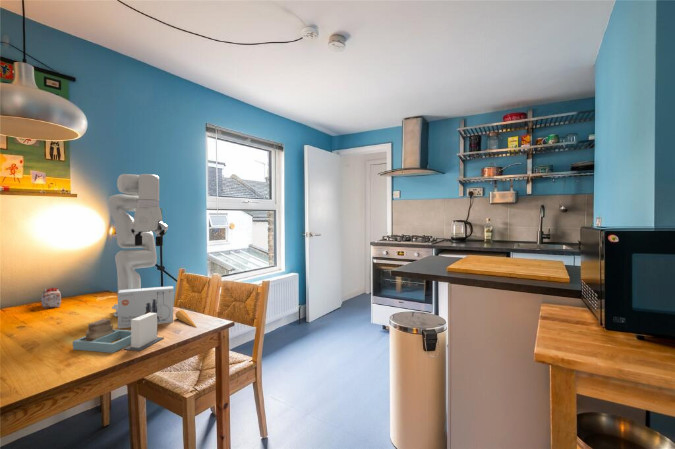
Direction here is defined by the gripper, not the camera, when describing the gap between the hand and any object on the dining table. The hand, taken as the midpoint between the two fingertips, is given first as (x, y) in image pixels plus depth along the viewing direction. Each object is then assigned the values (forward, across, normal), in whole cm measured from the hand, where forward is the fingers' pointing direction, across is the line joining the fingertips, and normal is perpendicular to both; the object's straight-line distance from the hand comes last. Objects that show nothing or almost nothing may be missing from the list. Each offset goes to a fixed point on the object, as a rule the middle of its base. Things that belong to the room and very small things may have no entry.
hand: (148, 245), depth 131 cm
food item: (+37, -79, +23) cm, 90 cm away
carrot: (+36, +8, +13) cm, 39 cm away
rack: (+36, -5, -15) cm, 39 cm away
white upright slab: (+35, +8, -12) cm, 38 cm away
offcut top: (+30, -8, -15) cm, 35 cm away
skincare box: (+36, -8, +8) cm, 38 cm away
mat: (+36, +9, -12) cm, 39 cm away
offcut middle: (+33, -8, -14) cm, 37 cm away
